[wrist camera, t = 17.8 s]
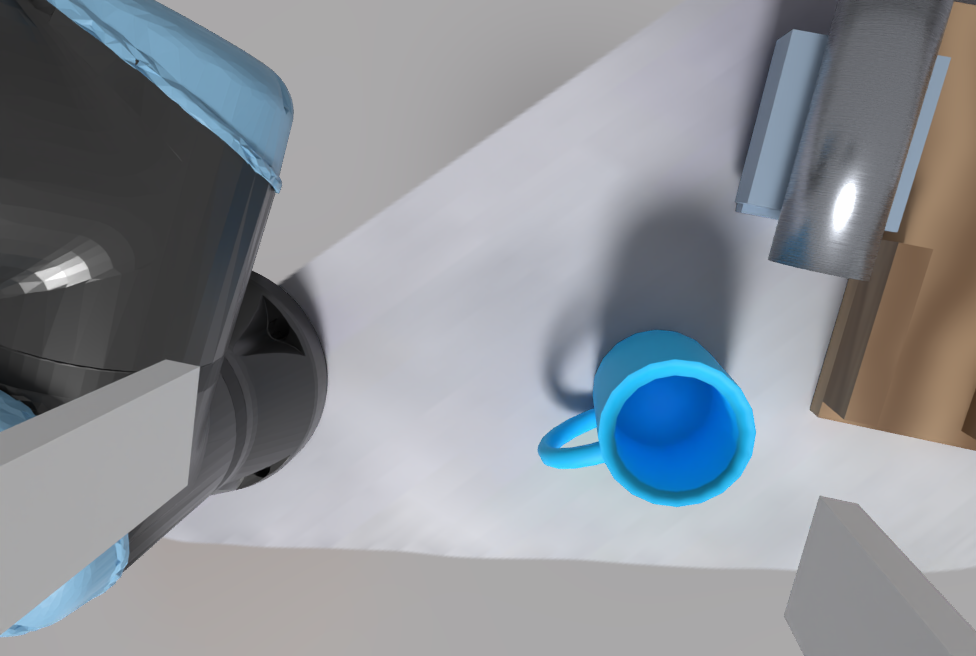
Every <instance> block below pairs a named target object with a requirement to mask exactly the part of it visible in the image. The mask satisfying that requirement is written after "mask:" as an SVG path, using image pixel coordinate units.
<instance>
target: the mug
mask: <svg viewBox="0 0 976 656" xmlns="http://www.w3.org/2000/svg"><path fill="white" fill-rule="evenodd" d="M593 402H594V408H593V409H590V410H588V411H585V412H583V413H581V414H579V415H577V416H574V417H572V418H570V419H568V420H566V421H565V422H563V423H561V424H560V425H558V426H556V427H555V428H553V429H552V430H551V431H550V432H548V433H547V434H546V435H545V436H544V437H543V438H542V440H541V442H540V444H539V445H538V454H539V456H540V457H541V459H542V461H543V463H544V464H546V465H547V466H551V467H554V468H558V469H574V468H581V467H587V466H593V465H597V464H601V463H604V462H605V464H606V465H607V467H608V469H609V471H610V472H611V474H612V476H613V477H614V479H615V480H616V481H617V482H619V483H620V484H621V485H622V486H623V487H624V488H625V489H626V490H628V491H629V492H630V493H631V494H633V495H635V496H637V497H639V498H642V499H644V500H646V501H648V502H650V503H653V504H659V505H666V506H674V507H680V506H686V505H692V504H699V503H702V502H705V501H707V500H709V499H711V498H713V497H715V496H717V495H719V494H721V493H723V492H724V491H725V490H726V489H727V488H728V487H730V486H731V485H732V484H733V483H734V482H735V481H736V480H737V479H738V478H739V477H740V476H741V475H742V473H743V471H744V469H745V467H746V465H747V464H748V462H749V460H750V458H751V456H752V453H753V447H754V441H755V435H756V429H755V423H754V418H753V412H752V408H751V406H750V405H749V403H748V401H747V399H746V397H745V396H744V394H743V392H742V390H741V388H740V387H739V386H738V385H737V384H736V383H735V382H734V380H733V379H732V378H731V377H730V376H729V375H728V373H727V372H726V371H725V370H724V369H723V368H722V367H721V365H720V364H719V363H718V362H717V361H716V360H715V359H714V357H713V356H712V355H711V354H710V353H709V352H708V351H707V350H706V349H705V348H703V347H702V346H701V345H700V344H699V343H698V342H697V341H696V340H694V339H692V338H689V337H687V336H685V335H683V334H680V333H678V332H674V331H665V330H651V331H646V332H640V333H635V334H634V335H632V336H630V337H628V338H626V339H624V340H622V341H621V342H619V343H617V344H616V345H615V346H614V347H613V348H612V349H611V350H610V351H609V352H608V354H607V355H606V356H605V357H604V358H603V360H602V362H601V364H600V366H599V368H598V370H597V372H596V374H595V379H594V387H593ZM596 427H597V432H598V439H599V442H595V443H592V444H588V445H583V446H577V447H572V448H560V447H561V446H563V445H564V444H565V443H567V442H569V441H570V440H572V439H573V438H575V437H577V436H579V435H581V434H583V433H585V432H587V431H589V430H591V429H593V428H596Z"/></svg>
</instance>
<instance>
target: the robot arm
mask: <svg viewBox="0 0 976 656" xmlns="http://www.w3.org/2000/svg"><path fill="white" fill-rule="evenodd" d="M293 114H294V110H293V103H292V99H291V96H290V93H289V91H288V89H287V87H286V86H285V84H284V83H283V81H282V80H281V78H280V77H279V76H278V75H277V74H276V73H274V71H273V70H271V69H270V68H269V67H267V66H266V65H265V64H263V63H262V62H260V61H259V60H257V59H256V58H254V57H253V56H251V55H250V54H248V53H246V52H245V51H243V50H242V49H240V48H238V47H237V46H235V45H233V44H231V43H230V42H228V41H227V40H225V39H223V38H221V37H219V36H218V35H216V34H215V33H213V32H211V31H209V30H208V29H206V28H204V27H202V26H201V25H199V24H197V23H195V22H193V21H192V20H190V19H188V18H186V17H185V16H183V15H181V14H179V13H177V12H175V11H174V10H172V9H170V8H168V7H166V6H164V5H162V4H160V3H159V2H157V1H155V0H0V637H9V636H17V635H23V634H26V633H28V632H30V631H36V630H38V629H40V628H43V627H47V626H50V625H52V624H54V623H56V622H58V621H60V620H61V619H63V618H64V617H66V616H67V615H69V614H70V613H72V612H73V611H75V610H76V609H78V608H79V607H81V606H82V605H84V604H85V603H87V602H88V601H90V600H91V599H93V598H95V597H97V596H99V595H101V594H103V593H105V592H106V590H108V589H109V588H110V587H111V586H113V585H114V584H115V583H116V580H118V579H119V578H120V577H121V575H122V573H123V572H124V571H125V570H126V569H127V568H128V567H129V566H131V565H132V564H133V563H134V562H135V561H136V560H137V559H138V558H140V557H141V556H142V555H143V554H144V553H145V552H146V551H148V550H149V549H150V548H151V547H152V546H153V545H154V544H155V543H157V541H159V540H160V539H161V538H162V537H163V536H165V535H166V534H167V533H168V532H169V531H170V530H171V529H172V528H174V527H175V526H176V525H177V524H178V523H179V522H180V521H182V520H183V519H184V518H185V517H186V516H187V515H188V514H189V513H191V512H192V511H193V510H194V509H195V508H196V507H197V506H199V505H200V504H201V503H202V502H203V501H204V500H205V499H206V498H208V497H209V496H210V495H215V494H219V493H224V492H229V491H234V490H238V489H242V488H246V487H249V486H252V485H254V484H256V483H259V482H261V481H263V480H265V479H267V478H268V477H270V476H272V475H273V474H275V473H276V472H278V471H279V470H280V469H282V468H283V467H284V466H285V465H286V464H287V463H288V462H289V461H290V460H291V459H292V458H293V457H294V456H295V455H296V454H297V453H298V452H299V451H300V450H301V449H302V448H303V447H304V446H305V445H306V443H307V442H308V441H309V439H310V438H311V436H312V435H313V433H314V431H315V429H316V427H317V425H318V423H319V421H320V418H321V415H322V412H323V409H324V405H325V400H326V392H327V371H326V364H325V358H324V354H323V350H322V347H321V344H320V341H319V339H318V336H317V334H316V332H315V330H314V328H313V326H312V324H311V322H310V321H309V319H308V317H307V316H306V315H305V313H304V312H303V310H302V309H301V308H300V307H299V305H298V304H297V303H296V302H295V301H294V300H293V299H292V298H291V297H290V296H289V295H288V294H287V293H286V292H285V291H284V290H283V289H281V288H280V287H279V286H278V285H276V284H275V283H273V282H272V281H270V280H269V279H267V278H265V277H263V276H262V275H260V274H258V273H256V272H254V271H252V268H253V264H254V261H255V258H256V254H257V251H258V248H259V245H260V242H261V238H262V235H263V232H264V228H265V225H266V222H267V219H268V215H269V212H270V209H271V205H272V202H273V199H274V196H275V193H279V192H280V190H281V187H282V181H281V179H280V177H279V175H280V171H281V167H282V162H283V158H284V154H285V150H286V146H287V142H288V137H289V134H290V130H291V126H292V122H293ZM784 617H785V619H786V621H787V623H788V625H789V627H790V629H791V631H792V633H793V635H794V637H795V639H796V641H797V643H798V645H799V647H800V648H801V651H802V652H803V654H804V656H976V631H975V630H974V629H973V628H972V626H971V625H970V624H969V623H968V622H967V621H966V620H965V619H964V618H963V617H962V616H961V615H960V613H959V612H958V611H957V610H956V609H955V608H954V607H953V606H952V605H951V604H950V603H949V602H948V601H947V599H946V598H945V597H944V596H943V595H942V594H941V593H940V592H939V591H938V590H937V589H936V588H935V587H934V585H933V584H932V583H930V581H929V580H928V579H927V578H926V577H925V576H924V575H923V574H922V573H921V571H920V570H919V569H918V568H917V567H916V566H915V565H914V564H913V563H912V562H911V561H910V560H909V558H908V557H907V556H906V555H905V554H904V553H903V552H902V551H901V550H900V549H899V548H898V547H897V546H896V544H895V543H894V542H893V541H892V540H891V539H890V538H889V537H888V536H887V535H886V534H885V533H884V532H883V530H882V529H881V528H880V527H879V526H878V525H877V524H876V523H875V522H874V521H873V520H872V519H871V518H870V516H869V515H868V514H867V513H866V512H865V511H864V510H863V509H862V508H861V507H860V506H859V505H858V504H856V503H851V502H847V501H842V500H837V499H832V498H827V497H823V496H819V499H818V503H817V506H816V509H815V513H814V516H813V520H812V523H811V526H810V530H809V533H808V536H807V540H806V543H805V546H804V550H803V553H802V556H801V560H800V563H799V566H798V570H797V573H796V577H795V580H794V584H793V587H792V590H791V594H790V597H789V600H788V603H787V607H786V610H785V613H784Z"/></svg>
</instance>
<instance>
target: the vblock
mask: <svg viewBox="0 0 976 656" xmlns="http://www.w3.org/2000/svg"><path fill="white" fill-rule="evenodd" d="M828 37H829V35H823V34H818V33H812V32H806V31H801V30H795V29H793V30H791V31H790V32H788V33H787V34H785V35H784V36H783V37H781V38H780V39H778V40H777V42H776V45H775V49H774V53H773V57H772V61H771V65H770V69H769V72H768V76H767V80H766V84H765V88H764V92H763V96H762V99H761V103H760V107H759V111H758V115H757V119H756V123H755V126H754V130H753V134H752V138H751V142H750V146H749V150H748V153H747V157H746V161H745V165H744V169H743V173H742V177H741V181H740V184H739V188H738V192H737V196H736V200H735V202H737V203H738V204H737V207H736V212H741V213H746V214H751V215H756V216H761V217H766V218H771V219H776V220H779V216H780V213H781V209H782V205H783V202H784V198H785V194H786V191H787V187H788V183H789V180H790V176H791V172H792V169H793V165H794V161H795V158H796V154H797V150H798V147H799V143H800V139H801V136H802V132H803V128H804V125H805V121H806V117H807V114H808V110H809V106H810V103H811V99H812V95H813V92H814V88H815V84H816V81H817V77H818V73H819V70H820V66H821V62H822V59H823V55H824V51H825V48H826V44H827V40H828ZM950 60H951V57H946V56H940V55H938V56H937V59H936V62H935V66H934V69H933V72H932V76H931V79H930V82H929V85H928V89H927V92H926V95H925V99H924V102H923V105H922V108H921V112H920V115H919V118H918V122H917V125H916V128H915V132H914V135H913V138H912V141H911V145H910V148H909V151H908V155H907V158H906V161H905V164H904V168H903V171H902V174H901V178H900V181H899V184H898V188H897V191H896V194H895V197H894V201H893V204H892V207H891V211H890V214H889V217H888V220H887V224H886V227H885V230H884V231H890V232H898V229H899V226H900V223H901V219H902V216H903V213H904V210H905V206H906V203H907V200H908V197H909V193H910V190H911V187H912V184H913V180H914V177H915V174H916V171H917V167H918V164H919V161H920V158H921V154H922V151H923V148H924V145H925V141H926V138H927V135H928V132H929V128H930V125H931V122H932V119H933V115H934V112H935V109H936V106H937V102H938V99H939V96H940V93H941V89H942V86H943V83H944V80H945V76H946V73H947V70H948V67H949V63H950Z"/></svg>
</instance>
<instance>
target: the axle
mask: <svg viewBox="0 0 976 656" xmlns="http://www.w3.org/2000/svg"><path fill="white" fill-rule="evenodd" d="M953 3H954V0H838V4H837V7H836V11H835V15H834V18H833V22H832V26H831V29H830V33H829V37H828V40H827V44H826V48H825V51H824V55H823V59H822V62H821V66H820V70H819V73H818V77H817V81H816V84H815V88H814V92H813V95H812V99H811V103H810V106H809V110H808V114H807V117H806V121H805V125H804V128H803V132H802V136H801V139H800V143H799V147H798V150H797V154H796V158H795V161H794V165H793V169H792V172H791V176H790V180H789V183H788V187H787V191H786V194H785V198H784V202H783V205H782V209H781V213H780V216H779V220H778V224H777V227H776V231H775V235H774V238H773V242H772V246H771V249H770V253H769V257H768V260H770V261H773V262H777V263H781V264H785V265H789V266H793V267H797V268H801V269H806V270H810V271H815V272H820V273H825V274H829V275H834V276H839V277H845V278H850V279H856V280H862V281H869V280H870V276H871V273H872V270H873V267H874V263H875V260H876V257H877V253H878V250H879V247H880V244H881V240H882V237H883V234H884V230H885V227H886V224H887V220H888V217H889V214H890V211H891V207H892V204H893V201H894V197H895V194H896V191H897V188H898V184H899V181H900V178H901V174H902V171H903V168H904V164H905V161H906V158H907V155H908V151H909V148H910V145H911V141H912V138H913V135H914V132H915V128H916V125H917V122H918V118H919V115H920V112H921V108H922V105H923V102H924V99H925V95H926V92H927V89H928V85H929V82H930V79H931V76H932V72H933V69H934V66H935V62H936V59H937V56H938V52H939V49H940V46H941V43H942V39H943V36H944V33H945V29H946V26H947V23H948V20H949V16H950V13H951V10H952V6H953Z"/></svg>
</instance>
